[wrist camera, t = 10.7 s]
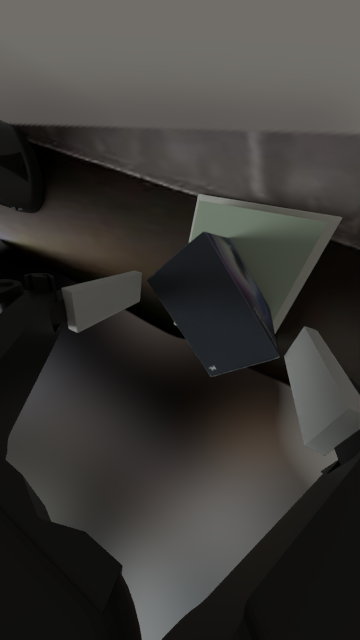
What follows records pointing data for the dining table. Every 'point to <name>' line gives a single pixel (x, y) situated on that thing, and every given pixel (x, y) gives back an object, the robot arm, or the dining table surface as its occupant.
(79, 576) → the robot arm
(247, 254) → the base brick
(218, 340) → the small box
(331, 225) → the baseplate
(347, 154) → the dining table surface
